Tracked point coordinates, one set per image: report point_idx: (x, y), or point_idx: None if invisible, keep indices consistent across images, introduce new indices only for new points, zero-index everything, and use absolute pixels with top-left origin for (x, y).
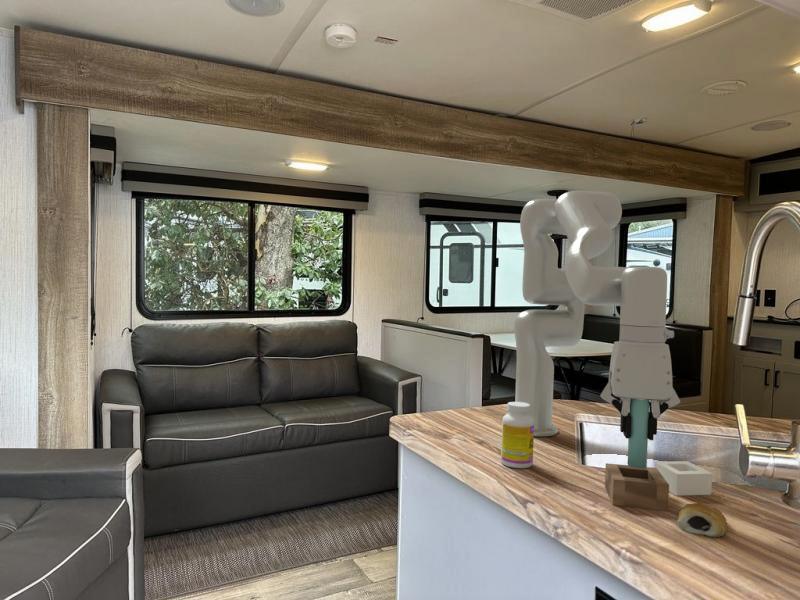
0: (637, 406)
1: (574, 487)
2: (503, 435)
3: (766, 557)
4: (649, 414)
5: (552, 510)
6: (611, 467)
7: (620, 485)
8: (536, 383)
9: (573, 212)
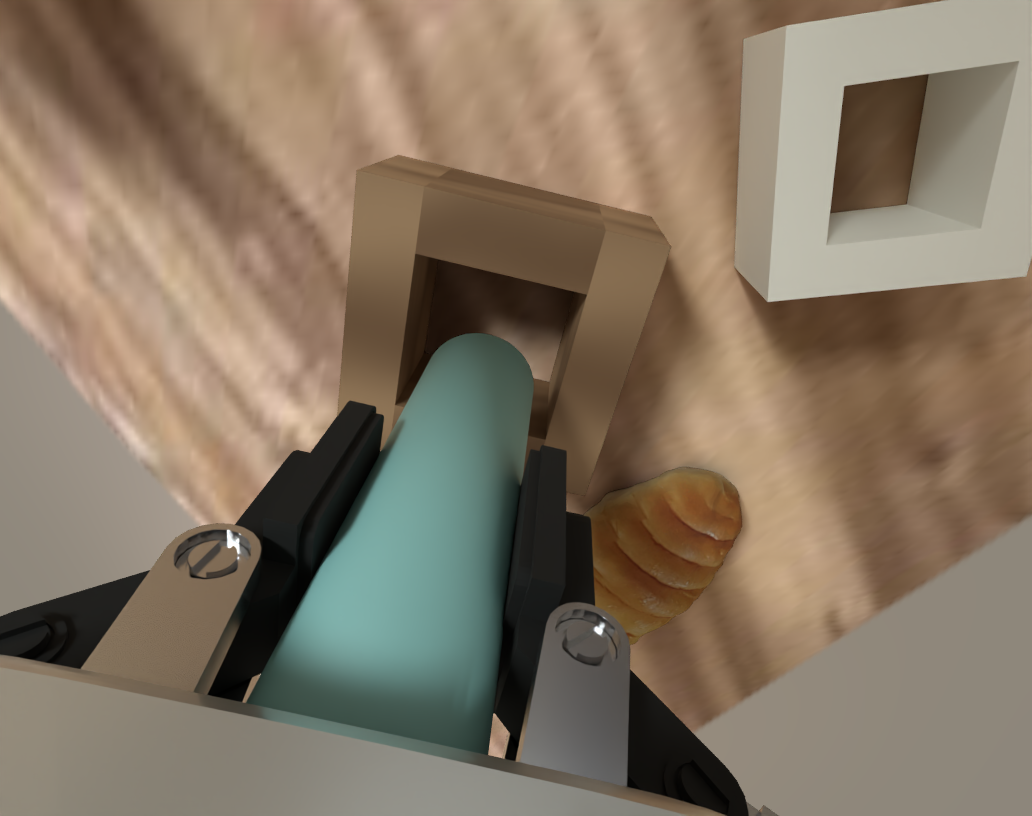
0: None
1: (235, 178)
2: None
3: (687, 684)
4: (504, 678)
5: (137, 434)
6: (372, 257)
7: None
8: None
9: None
